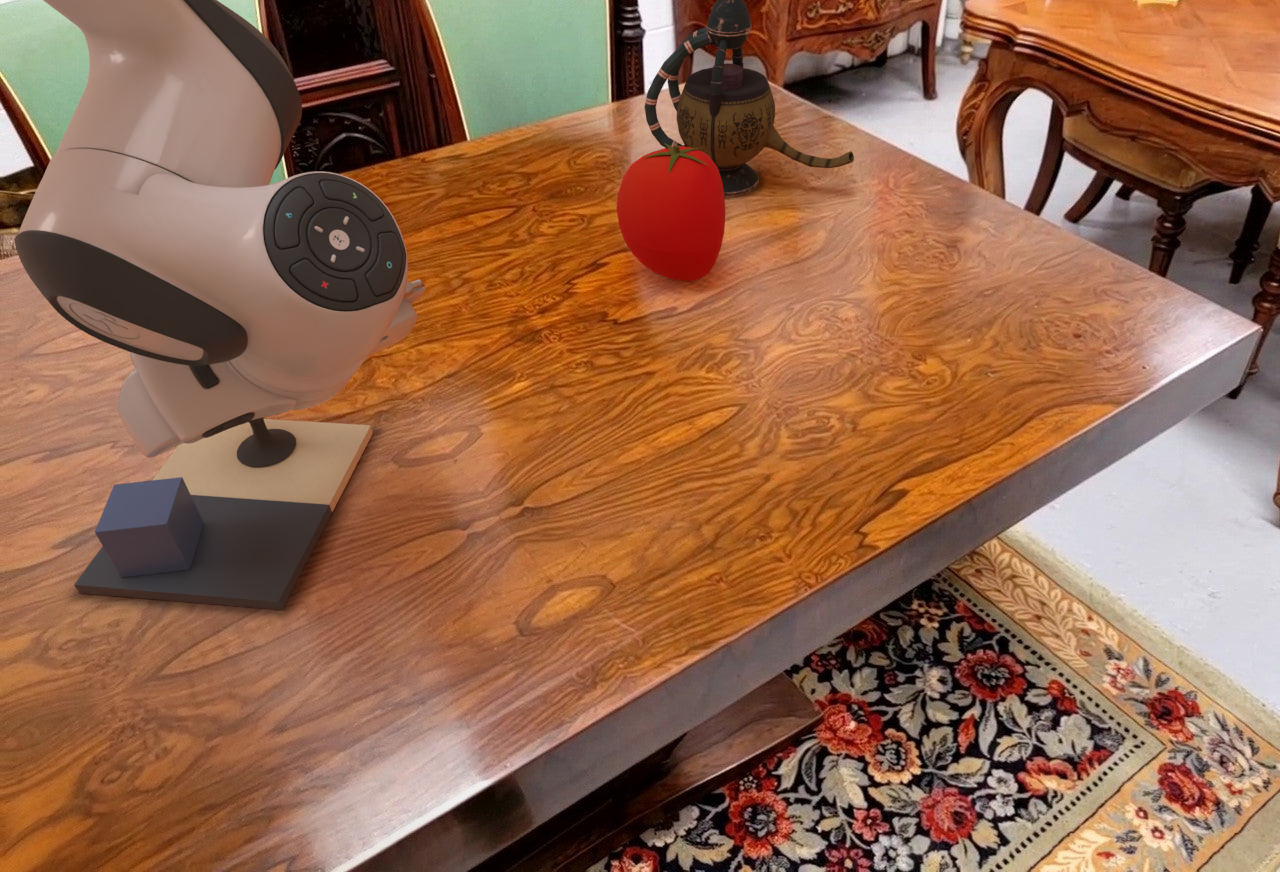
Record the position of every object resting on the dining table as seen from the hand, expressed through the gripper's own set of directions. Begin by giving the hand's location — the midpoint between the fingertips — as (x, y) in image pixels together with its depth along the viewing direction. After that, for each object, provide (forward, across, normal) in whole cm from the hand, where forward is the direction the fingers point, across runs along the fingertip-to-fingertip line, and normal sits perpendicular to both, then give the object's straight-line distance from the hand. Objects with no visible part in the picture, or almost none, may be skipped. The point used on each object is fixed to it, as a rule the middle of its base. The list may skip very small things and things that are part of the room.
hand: (265, 390), depth 71 cm
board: (+9, +4, +6) cm, 12 cm away
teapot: (+16, -69, -1) cm, 71 cm away
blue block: (+7, +11, +6) cm, 15 cm away
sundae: (+11, 0, +3) cm, 12 cm away
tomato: (+10, -47, +5) cm, 48 cm away
